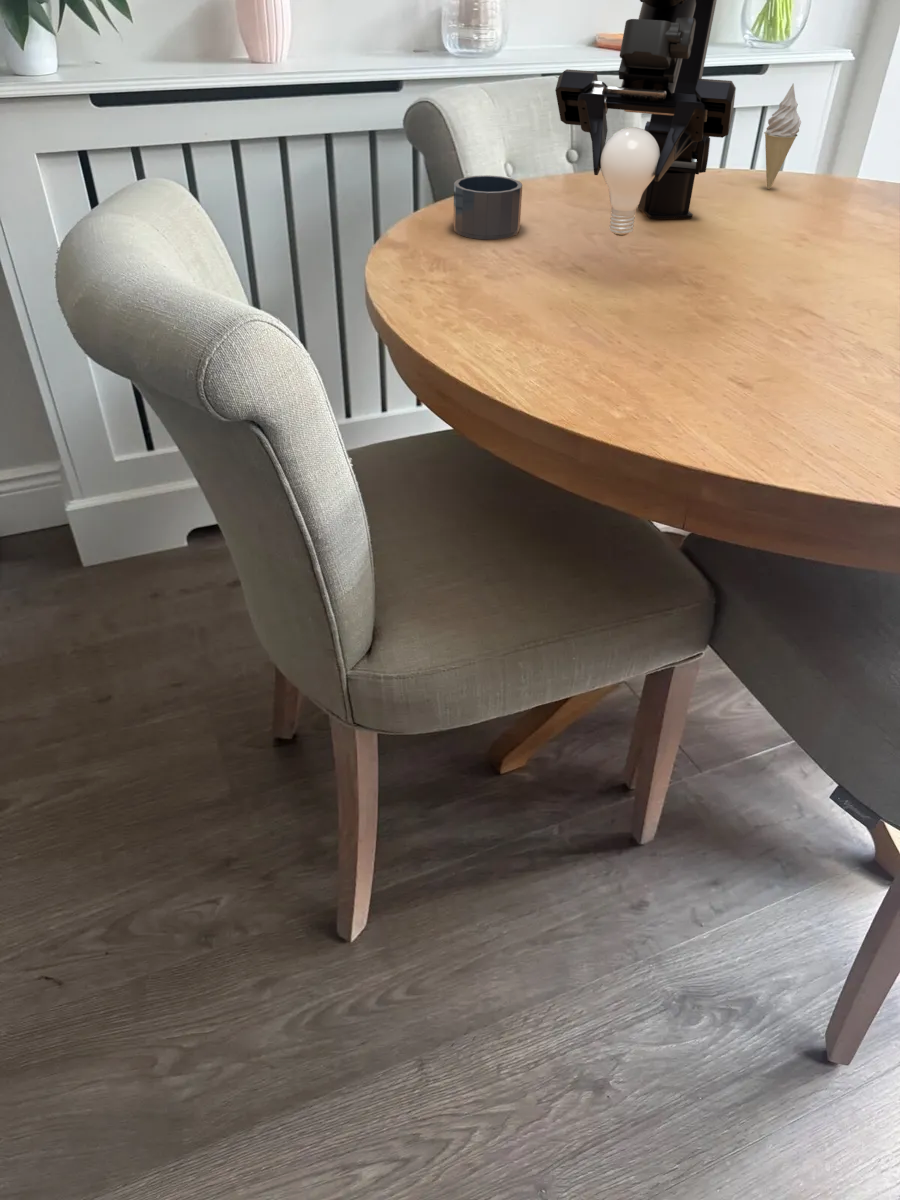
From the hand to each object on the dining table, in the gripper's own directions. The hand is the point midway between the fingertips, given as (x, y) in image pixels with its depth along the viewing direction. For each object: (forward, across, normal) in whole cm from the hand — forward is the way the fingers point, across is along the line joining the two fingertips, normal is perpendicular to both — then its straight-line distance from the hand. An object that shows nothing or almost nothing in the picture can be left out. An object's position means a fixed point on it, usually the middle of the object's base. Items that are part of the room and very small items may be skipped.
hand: (625, 176), depth 94 cm
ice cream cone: (-32, +14, +52) cm, 62 cm away
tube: (-4, -22, +24) cm, 33 cm away
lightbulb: (+4, 0, +6) cm, 7 cm away
